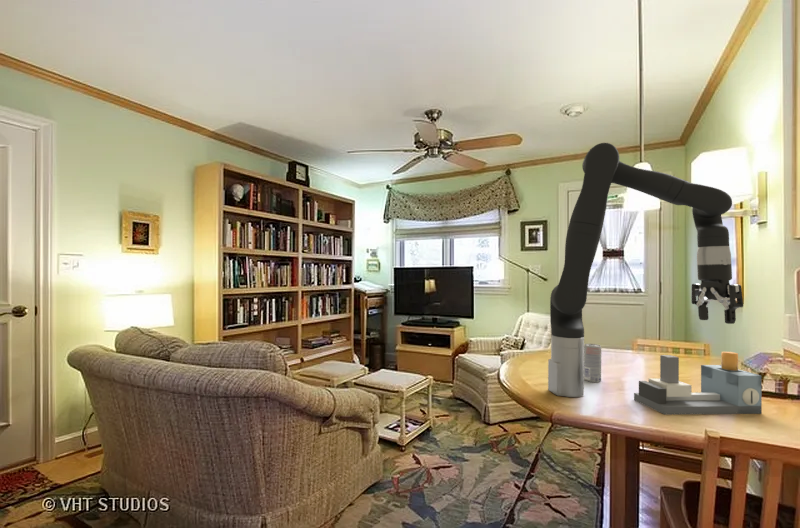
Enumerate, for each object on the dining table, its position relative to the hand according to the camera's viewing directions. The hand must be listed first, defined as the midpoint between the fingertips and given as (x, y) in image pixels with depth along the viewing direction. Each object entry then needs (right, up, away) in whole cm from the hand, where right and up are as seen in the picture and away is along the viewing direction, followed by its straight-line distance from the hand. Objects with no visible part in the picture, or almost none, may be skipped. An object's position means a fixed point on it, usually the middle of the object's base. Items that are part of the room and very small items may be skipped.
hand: (716, 321), depth 111 cm
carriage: (-14, -19, -1) cm, 24 cm away
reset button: (+4, -14, +1) cm, 14 cm away
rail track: (-6, -23, 0) cm, 24 cm away
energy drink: (-22, -24, +26) cm, 41 cm away
